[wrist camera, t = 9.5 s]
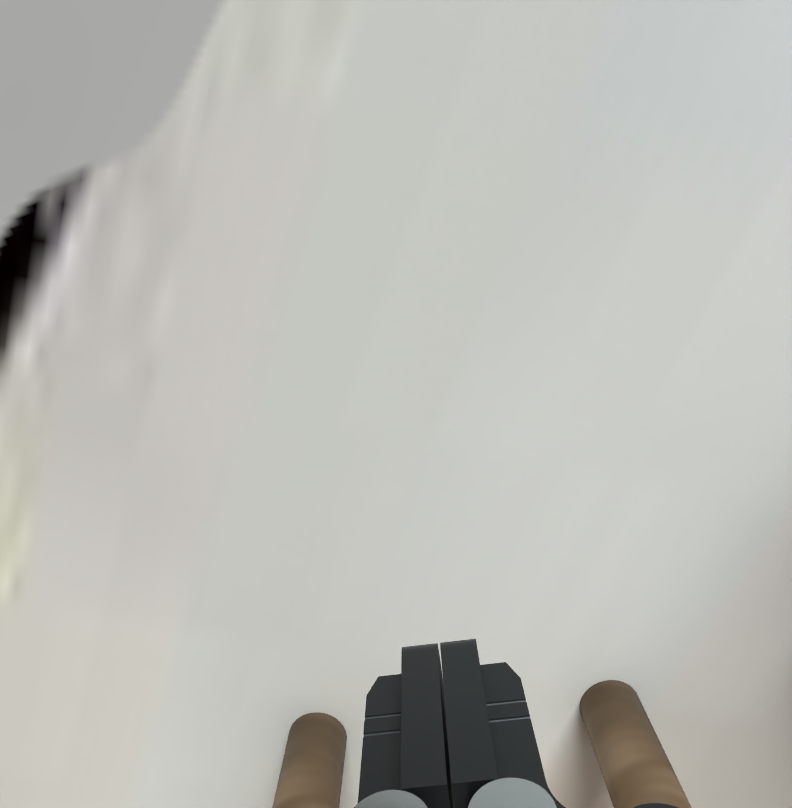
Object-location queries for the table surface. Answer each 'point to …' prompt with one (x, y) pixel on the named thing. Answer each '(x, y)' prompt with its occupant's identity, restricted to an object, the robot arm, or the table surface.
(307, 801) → the post
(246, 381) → the table surface
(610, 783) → the post
